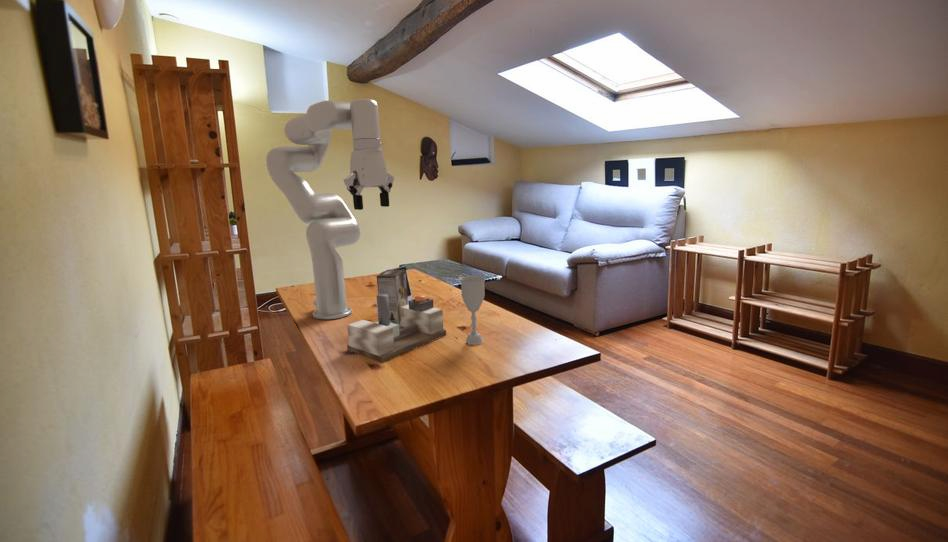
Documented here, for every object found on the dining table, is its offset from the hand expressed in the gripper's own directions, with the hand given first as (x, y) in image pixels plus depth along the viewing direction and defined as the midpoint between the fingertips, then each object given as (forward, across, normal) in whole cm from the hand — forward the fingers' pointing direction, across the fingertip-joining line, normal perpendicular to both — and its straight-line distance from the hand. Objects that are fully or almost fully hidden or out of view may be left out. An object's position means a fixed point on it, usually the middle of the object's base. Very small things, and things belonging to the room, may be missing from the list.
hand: (372, 207), depth 140 cm
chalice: (+37, -7, +30) cm, 48 cm away
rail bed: (+36, +5, +13) cm, 39 cm away
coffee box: (+36, -6, -1) cm, 37 cm away
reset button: (+28, -4, +13) cm, 31 cm away
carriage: (+33, +10, +13) cm, 37 cm away
